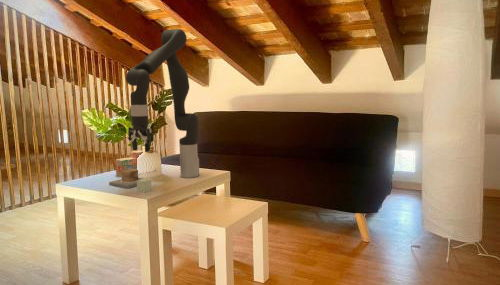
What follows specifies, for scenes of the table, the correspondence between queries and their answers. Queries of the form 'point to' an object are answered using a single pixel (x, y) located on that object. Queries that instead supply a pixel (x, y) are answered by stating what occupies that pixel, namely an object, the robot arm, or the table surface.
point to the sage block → (144, 185)
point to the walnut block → (129, 175)
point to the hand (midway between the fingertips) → (141, 150)
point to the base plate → (124, 184)
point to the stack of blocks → (127, 162)
